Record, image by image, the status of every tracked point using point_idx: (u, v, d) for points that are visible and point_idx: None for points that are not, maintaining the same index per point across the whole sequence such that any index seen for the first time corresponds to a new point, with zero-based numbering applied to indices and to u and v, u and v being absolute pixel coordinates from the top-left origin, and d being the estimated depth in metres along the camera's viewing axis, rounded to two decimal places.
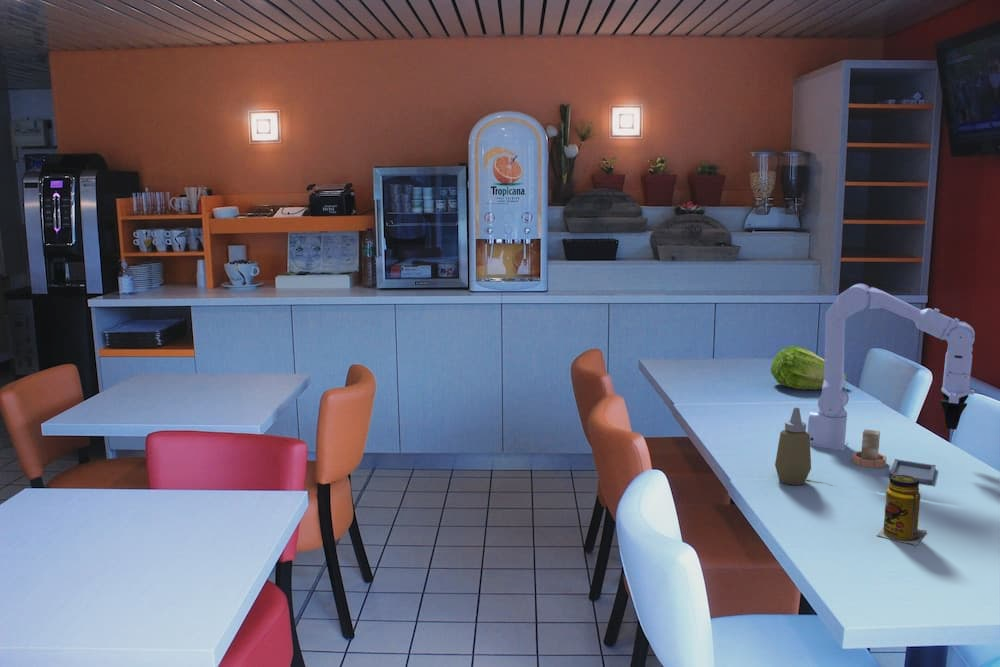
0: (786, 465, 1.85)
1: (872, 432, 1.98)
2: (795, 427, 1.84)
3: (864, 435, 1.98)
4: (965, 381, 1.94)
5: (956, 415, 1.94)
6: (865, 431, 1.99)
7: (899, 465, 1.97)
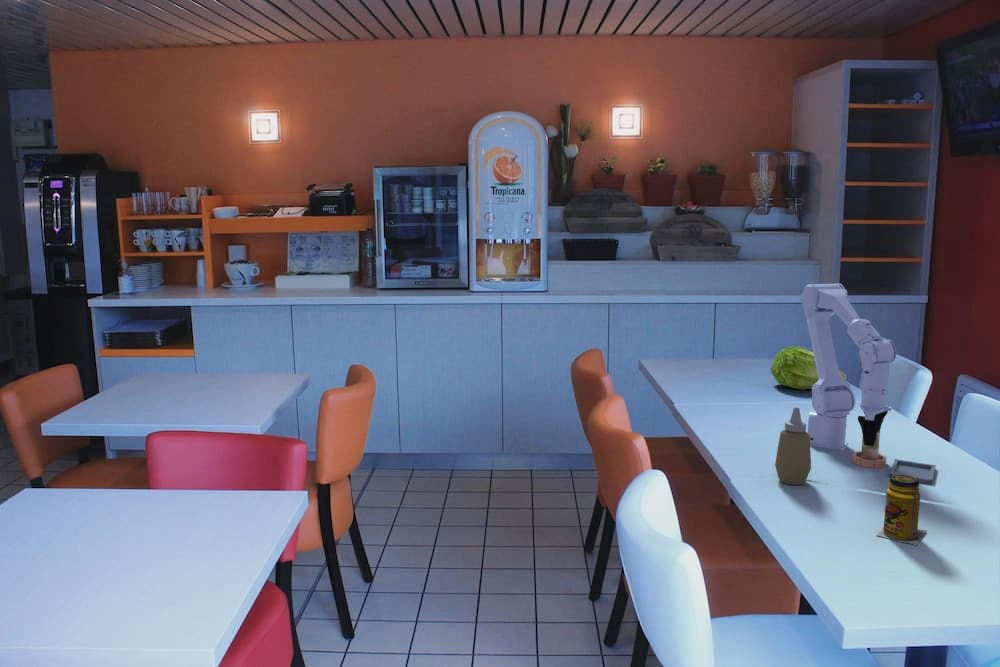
0: (786, 465, 1.85)
1: None
2: (795, 426, 1.84)
3: None
4: (882, 398, 1.94)
5: (873, 432, 1.94)
6: None
7: (899, 465, 1.97)
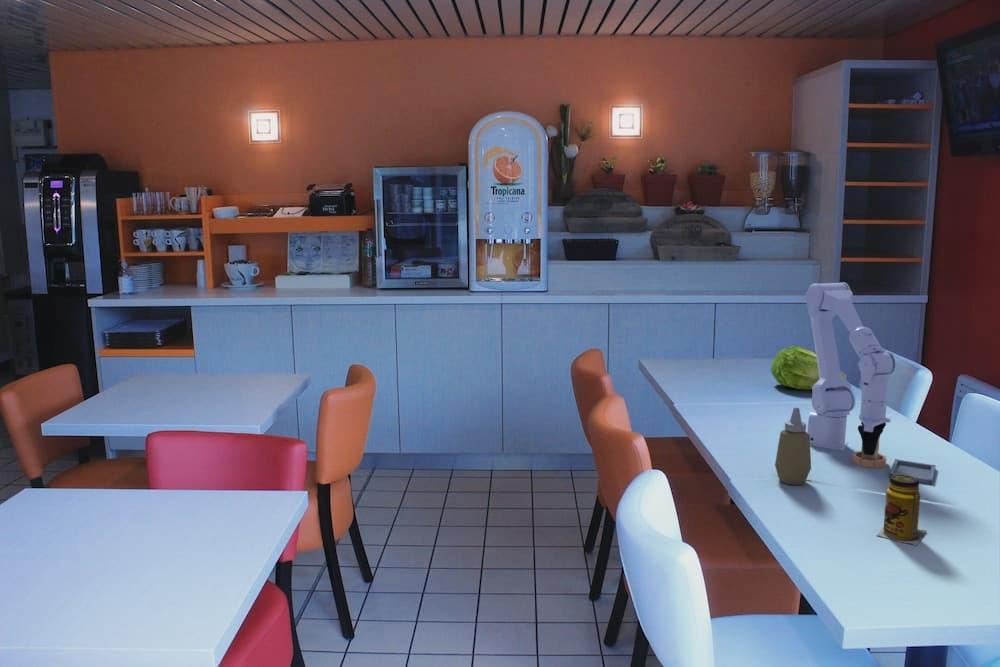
0: (786, 465, 1.85)
1: None
2: (794, 427, 1.84)
3: None
4: (881, 410, 1.94)
5: (873, 441, 1.96)
6: None
7: (899, 465, 1.97)
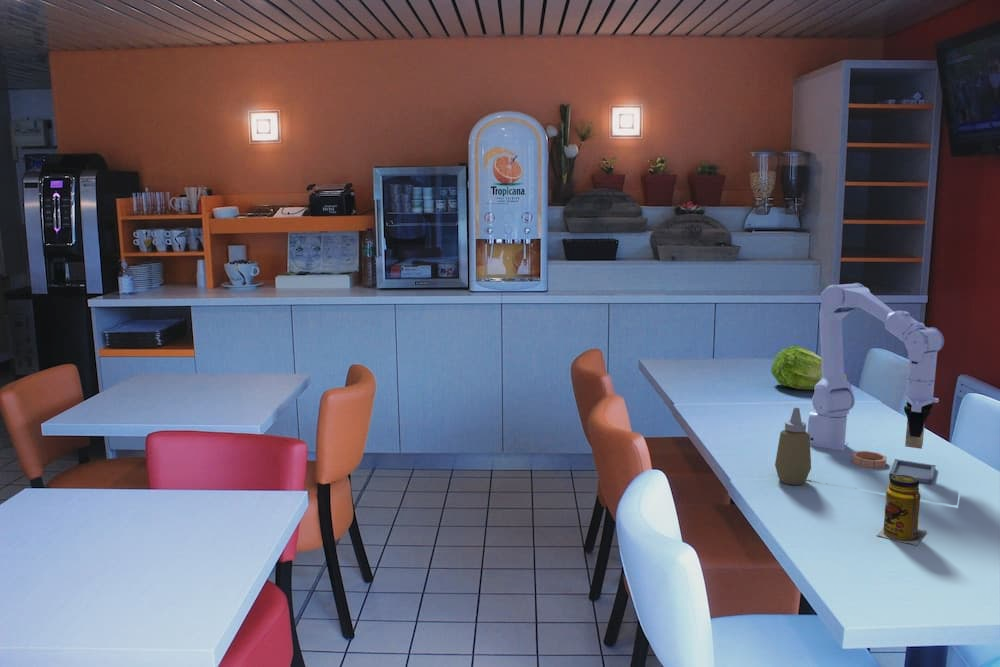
0: (786, 465, 1.85)
1: None
2: (795, 427, 1.84)
3: None
4: (928, 389, 1.85)
5: (920, 422, 1.87)
6: None
7: (899, 465, 1.97)
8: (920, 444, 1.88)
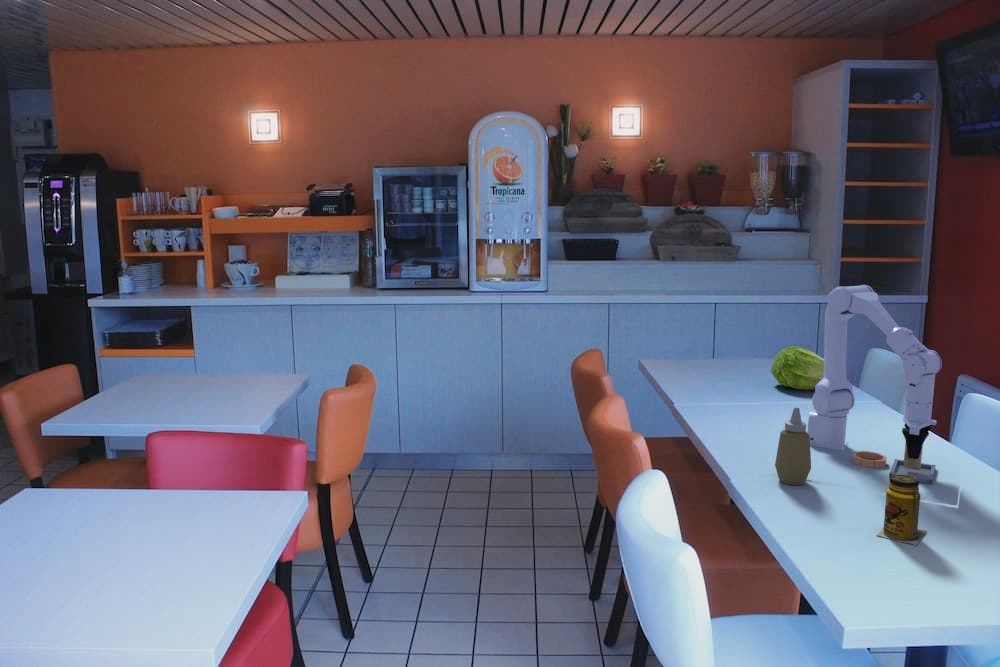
0: (786, 465, 1.85)
1: None
2: (795, 427, 1.84)
3: None
4: (926, 412, 1.86)
5: (918, 444, 1.88)
6: None
7: (899, 465, 1.97)
8: (918, 466, 1.89)
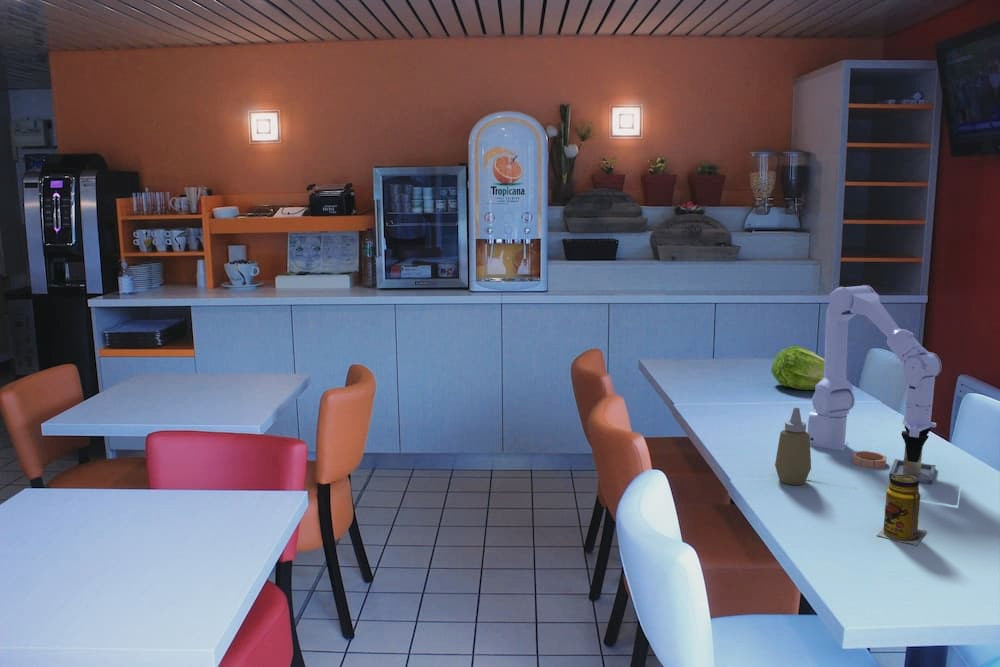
0: (786, 465, 1.85)
1: None
2: (794, 427, 1.84)
3: None
4: (926, 414, 1.86)
5: (917, 448, 1.88)
6: None
7: (899, 465, 1.97)
8: (918, 471, 1.90)
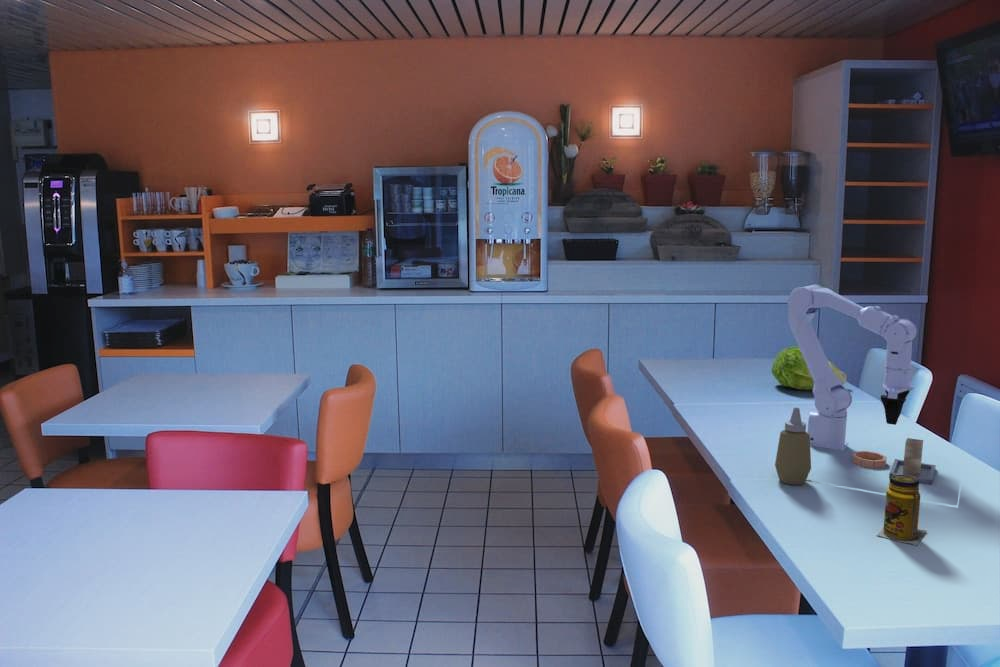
0: (786, 465, 1.85)
1: (915, 441, 1.90)
2: (794, 426, 1.84)
3: (907, 444, 1.90)
4: (904, 377, 1.97)
5: (896, 410, 1.97)
6: (908, 440, 1.91)
7: (899, 465, 1.97)
8: (918, 471, 1.90)
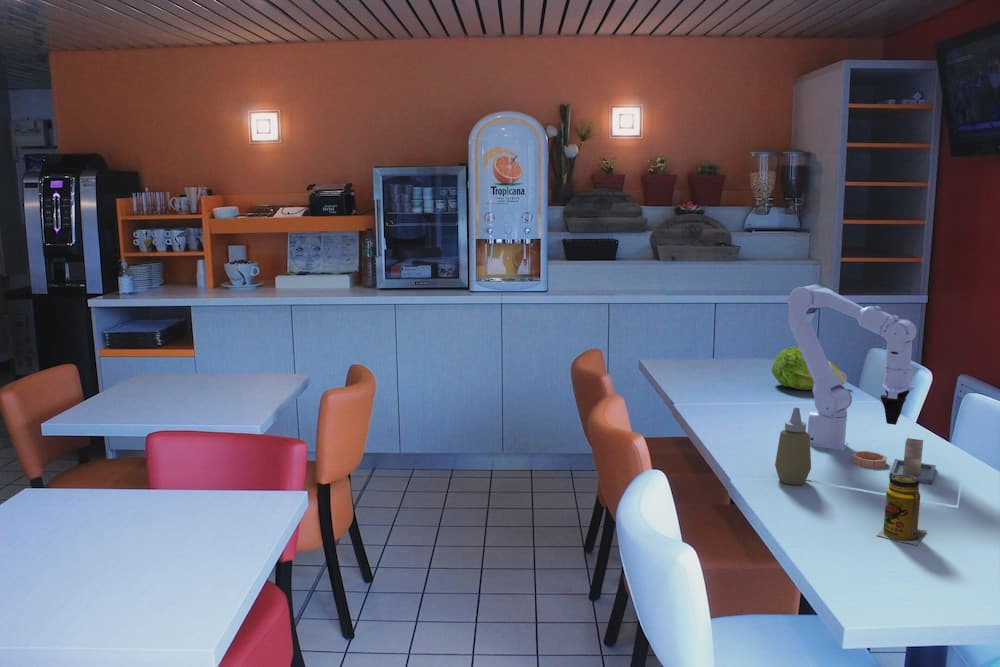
0: (786, 465, 1.85)
1: (915, 441, 1.90)
2: (795, 426, 1.84)
3: (907, 444, 1.90)
4: (904, 377, 1.97)
5: (896, 410, 1.97)
6: (908, 440, 1.91)
7: (899, 465, 1.97)
8: (918, 471, 1.90)
